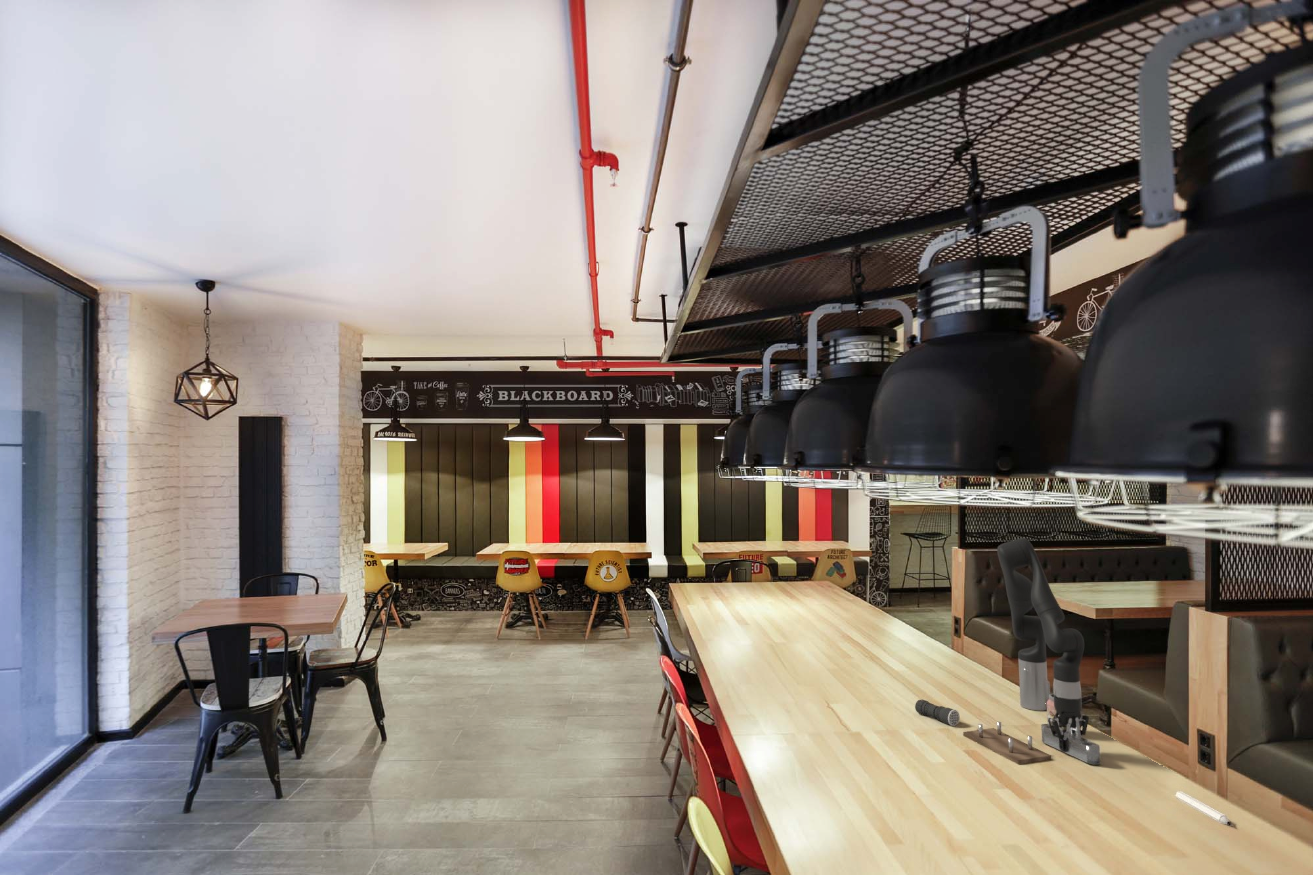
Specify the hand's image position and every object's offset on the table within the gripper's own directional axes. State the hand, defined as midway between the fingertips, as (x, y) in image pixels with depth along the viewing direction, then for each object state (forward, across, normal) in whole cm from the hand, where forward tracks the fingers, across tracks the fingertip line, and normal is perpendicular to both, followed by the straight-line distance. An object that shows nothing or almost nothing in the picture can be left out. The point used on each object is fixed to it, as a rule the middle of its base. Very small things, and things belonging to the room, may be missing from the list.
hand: (1069, 749), depth 215 cm
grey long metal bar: (+1, 0, 0) cm, 1 cm away
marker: (+1, -1, +40) cm, 40 cm away
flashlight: (+2, +19, -38) cm, 42 cm away
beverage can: (+1, -12, -14) cm, 18 cm away
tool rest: (+1, +15, -10) cm, 18 cm away
